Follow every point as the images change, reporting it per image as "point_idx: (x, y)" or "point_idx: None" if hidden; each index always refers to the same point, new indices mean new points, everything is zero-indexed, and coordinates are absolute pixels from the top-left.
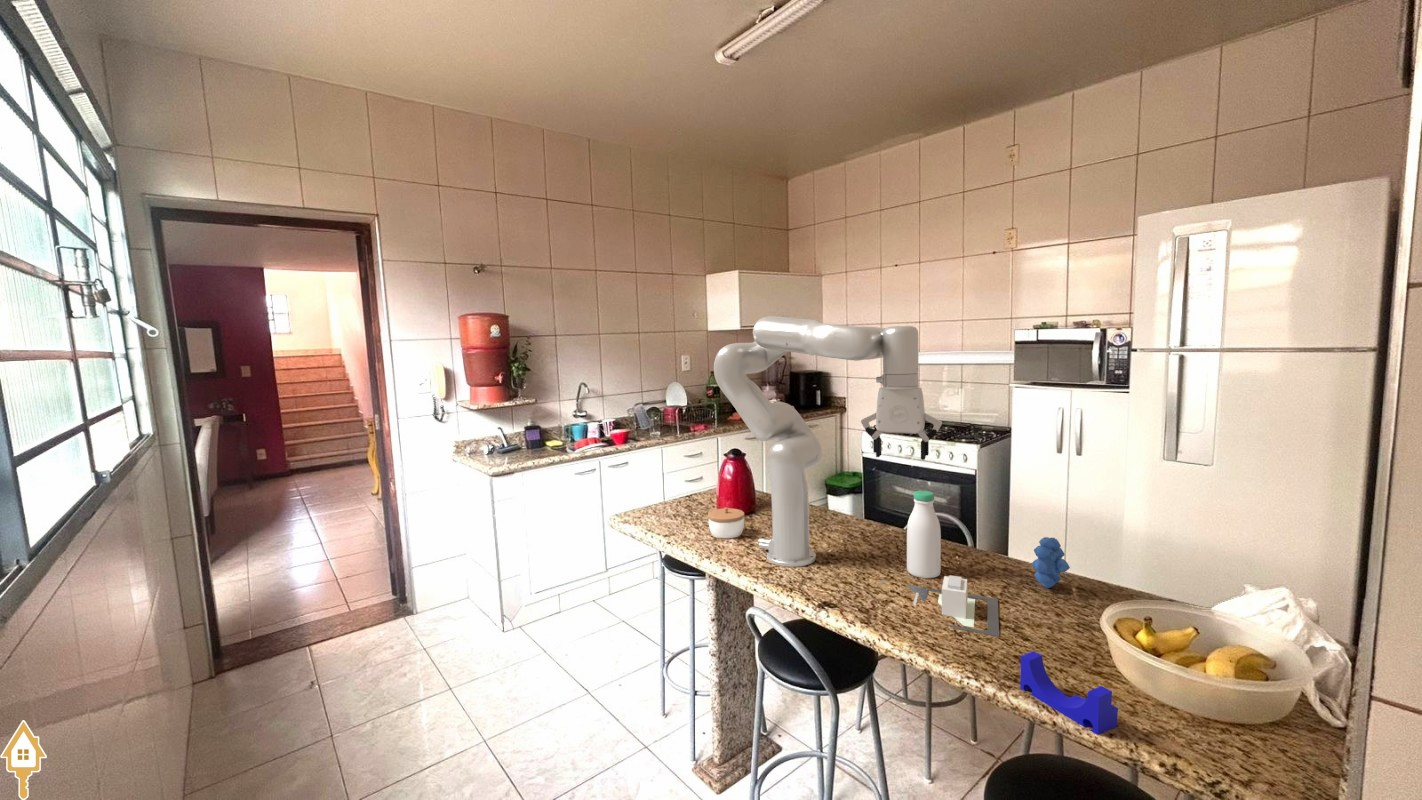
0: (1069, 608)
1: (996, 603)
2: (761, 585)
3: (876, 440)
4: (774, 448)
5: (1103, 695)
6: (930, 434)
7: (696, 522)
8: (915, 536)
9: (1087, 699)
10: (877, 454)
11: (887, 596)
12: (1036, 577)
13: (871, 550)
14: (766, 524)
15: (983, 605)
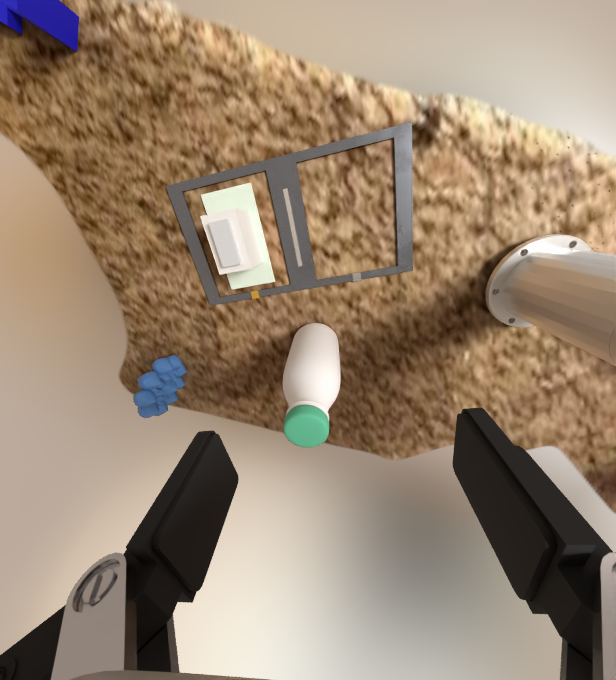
0: (144, 322)
1: (206, 289)
2: (576, 136)
3: (583, 538)
4: None
5: None
6: (37, 657)
7: None
8: (318, 351)
9: None
10: (479, 417)
11: (337, 233)
12: (176, 358)
13: (403, 382)
14: (603, 411)
15: (218, 278)
